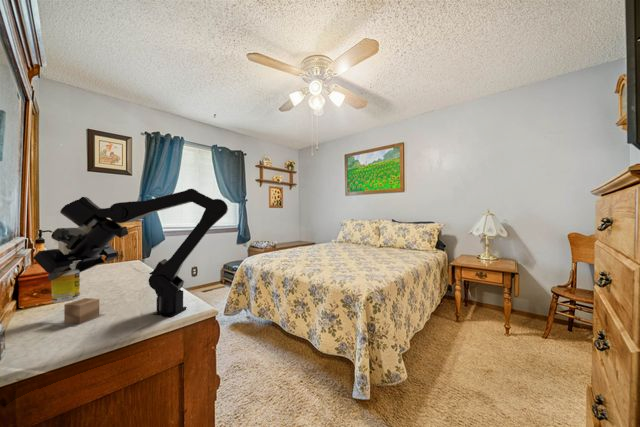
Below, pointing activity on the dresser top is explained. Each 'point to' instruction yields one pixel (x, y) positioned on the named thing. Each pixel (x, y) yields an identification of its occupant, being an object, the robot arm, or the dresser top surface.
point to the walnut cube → (81, 311)
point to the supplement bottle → (66, 286)
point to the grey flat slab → (60, 321)
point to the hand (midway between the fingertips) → (61, 276)
